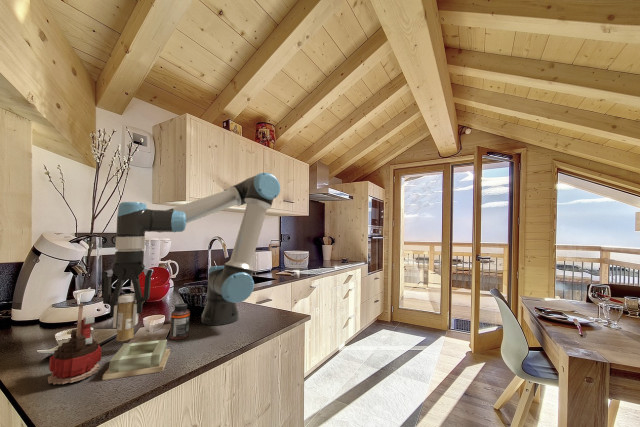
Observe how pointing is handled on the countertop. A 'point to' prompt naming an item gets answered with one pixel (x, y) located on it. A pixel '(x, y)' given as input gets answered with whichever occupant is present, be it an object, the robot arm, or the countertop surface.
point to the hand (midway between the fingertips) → (125, 324)
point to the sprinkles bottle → (125, 317)
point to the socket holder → (138, 359)
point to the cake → (76, 354)
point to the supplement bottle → (179, 322)
